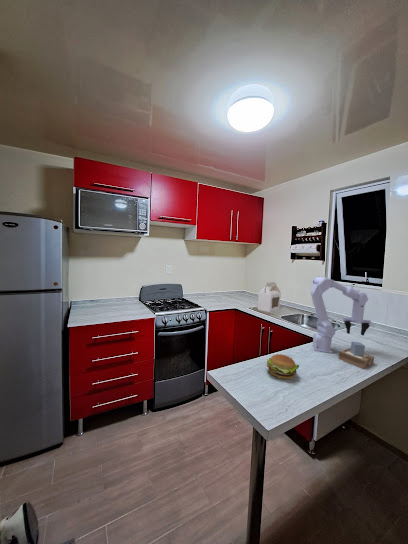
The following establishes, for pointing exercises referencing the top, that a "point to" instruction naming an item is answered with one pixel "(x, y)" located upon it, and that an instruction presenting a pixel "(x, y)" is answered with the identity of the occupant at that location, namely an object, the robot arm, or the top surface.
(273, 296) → the gable box
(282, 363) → the food
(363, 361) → the walnut base
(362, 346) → the block
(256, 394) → the top surface
